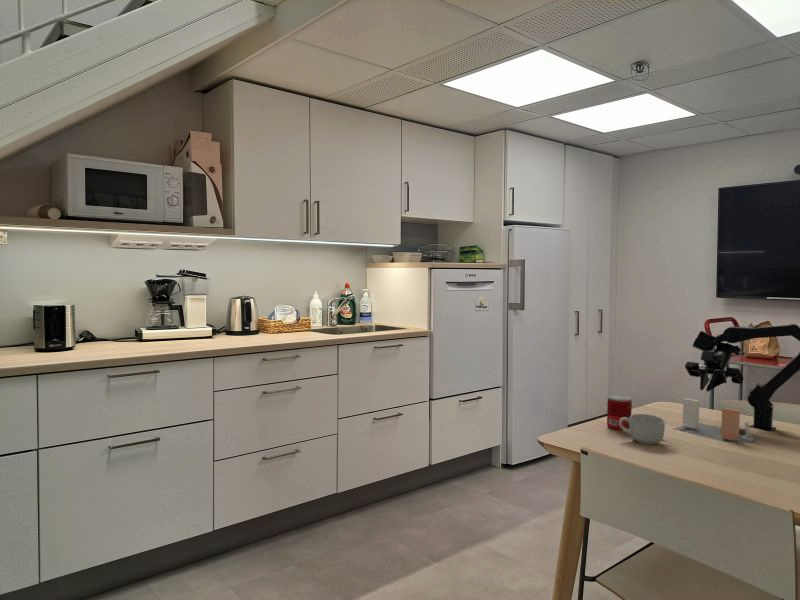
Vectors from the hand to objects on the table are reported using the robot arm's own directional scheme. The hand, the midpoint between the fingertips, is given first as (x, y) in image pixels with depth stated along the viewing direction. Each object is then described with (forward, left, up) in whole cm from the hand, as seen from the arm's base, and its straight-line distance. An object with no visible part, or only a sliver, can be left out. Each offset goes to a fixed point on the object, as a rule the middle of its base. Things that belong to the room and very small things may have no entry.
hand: (703, 390), depth 202 cm
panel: (+6, +8, -14) cm, 17 cm away
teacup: (+34, -2, -14) cm, 37 cm away
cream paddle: (+8, 0, -13) cm, 15 cm away
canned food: (+26, -16, -14) cm, 34 cm away
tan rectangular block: (+11, +15, -13) cm, 22 cm away
